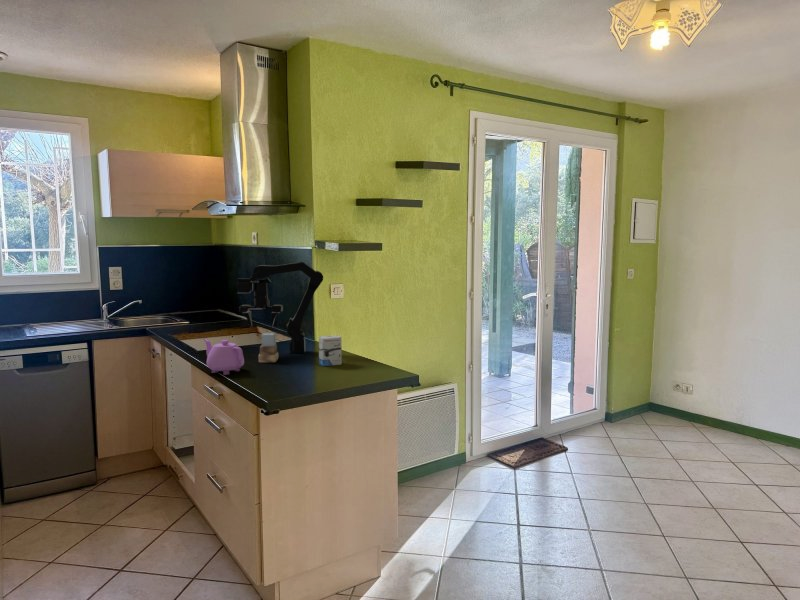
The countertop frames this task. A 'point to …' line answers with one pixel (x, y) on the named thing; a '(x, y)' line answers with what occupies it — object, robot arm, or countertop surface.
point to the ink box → (330, 350)
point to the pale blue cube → (268, 339)
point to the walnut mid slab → (268, 350)
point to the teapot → (224, 357)
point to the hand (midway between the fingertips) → (261, 327)
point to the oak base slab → (268, 358)
